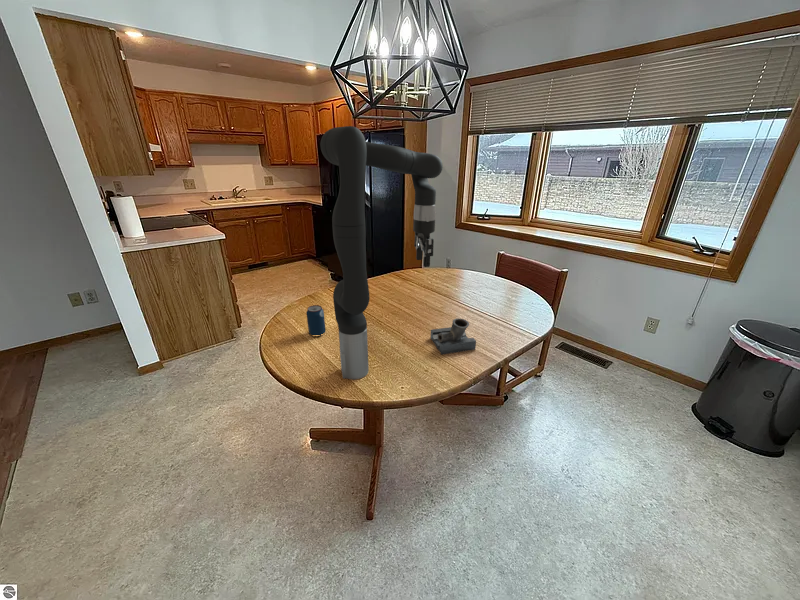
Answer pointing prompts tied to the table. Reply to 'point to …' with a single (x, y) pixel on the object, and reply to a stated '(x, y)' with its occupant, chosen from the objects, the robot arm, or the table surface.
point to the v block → (452, 342)
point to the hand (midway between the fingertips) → (422, 263)
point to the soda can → (315, 320)
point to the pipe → (454, 331)
